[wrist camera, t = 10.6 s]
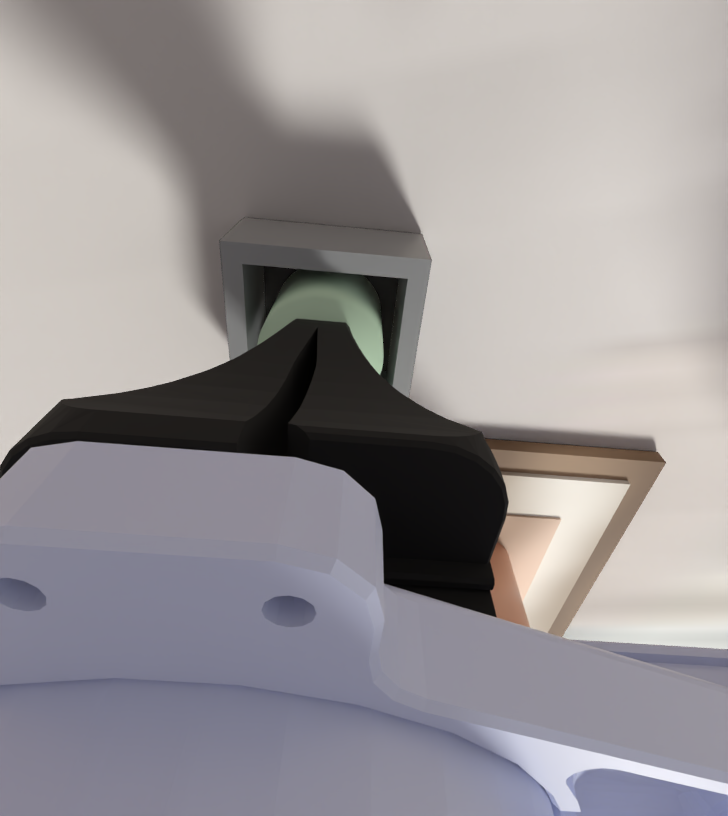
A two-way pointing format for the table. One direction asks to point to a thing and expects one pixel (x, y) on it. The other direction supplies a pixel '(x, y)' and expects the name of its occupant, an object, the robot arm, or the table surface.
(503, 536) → the beige flat tray
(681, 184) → the table surface
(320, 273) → the button
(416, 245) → the button housing
